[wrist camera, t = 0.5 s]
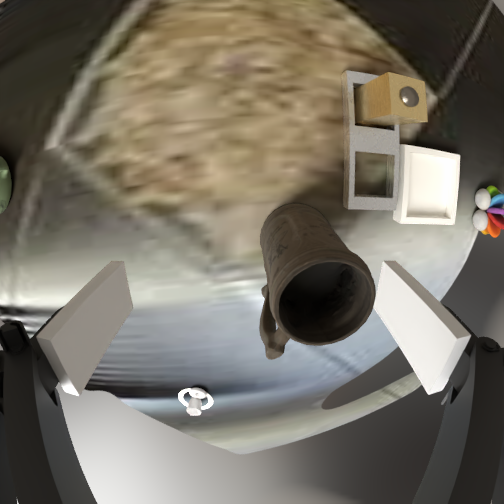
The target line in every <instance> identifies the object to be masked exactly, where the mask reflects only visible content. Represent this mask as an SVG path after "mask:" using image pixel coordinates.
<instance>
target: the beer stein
mask: <svg viewBox="0 0 504 504" xmlns="http://www.w3.org/2000/svg"><path fill="white" fill-rule="evenodd" d="M260 244H261V248H262V252H263V258H264V267H265V271H266V274H267V285H265V286H264V287H263V288H262V295H263V297H264V298H265V301H264V305H263V309H262V313H261V318H260V327H259V329H260V336H261V339H262V341H263V343H264V345H265V349H266V357H267V358H268V359H276V358H278V357H280V356H281V355H282V354H283V353H284V349H285V344H286V343H287V342H288V340H289V339H290V338H291V339H292V340H294V341H297V342H300V343H303V344H306V345H314V346H317V345H327V344H332V343H335V342H338V341H341V340H344V339H345V338H347V337H349V336H350V335H352V334H353V333H355V332H356V331H357V330H358V329H359V328H360V327H361V326H362V325H363V324H364V323H365V322H366V320H367V319H368V317H369V315H370V314H371V312H372V309H373V306H374V302H375V297H376V290H375V284H374V280H373V278H372V276H371V272H370V270H369V268H368V266H367V265H366V264H365V262H364V261H363V260H362V259H361V258H360V257H359V256H358V255H356V254H355V253H353V252H351V251H350V250H349V249H348V248H347V247H346V245H345V244H344V243H343V242H342V240H341V239H340V238H339V236H338V235H337V234H336V233H335V231H334V230H333V229H332V228H331V226H330V224H329V222H328V221H327V220H326V219H325V218H324V216H323V215H322V214H321V213H320V212H319V211H317V210H316V209H315V208H313V207H310V206H308V205H304V204H289V205H285V206H282V207H280V208H278V209H277V210H275V211H274V212H272V213H271V214H270V215H269V216H268V218H267V219H266V221H265V222H264V224H263V227H262V229H261V234H260ZM276 323H277V325H278V329H277V330H276Z"/></svg>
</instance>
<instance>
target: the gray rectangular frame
mask: <svg viewBox="0 0 504 504" xmlns="http://www.w3.org/2000/svg"><path fill="white" fill-rule="evenodd" d="M377 77H379V76H377V75H372V74H367V73H361V72H355V71H348V70H346V71H345V72H344V73H342V74H341V81H342V97H343V122H344V182H343V206H344V207H345V208H347V209H363V210H396V208H397V195H398V179H399V125H391V126H387V130H386V129H379V128H371V127H363V126H355V114H354V93H353V87H357V88H358V87H360V86H362V85H364V84H366V83H367V82H369V81H371V80H373V79H375V78H377ZM355 151H357V152H368V153H378V154H387V176H386V195H366V194H354V184H355Z"/></svg>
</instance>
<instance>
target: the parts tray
mask: <svg viewBox="0 0 504 504" xmlns="http://www.w3.org/2000/svg"><path fill="white" fill-rule="evenodd" d="M459 171H460V155H457V154H453V153H448V152H443V151H439V150H434V149H428V148H423V147H417V146H411V145H405V144H399V179H398V195H397V208H396V210H394V214H393V220H395V221H397V222H399V223H401V224H444V225H454V222H455V215H456V207H457V198H458V187H459Z"/></svg>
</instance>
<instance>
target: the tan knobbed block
mask: <svg viewBox="0 0 504 504" xmlns="http://www.w3.org/2000/svg"><path fill="white" fill-rule="evenodd" d="M353 93H354V114H355V123H359V124H368V125H375V126H382V127H383V126H391V125H400V124H410V123H420V122H428V121H427V103H426V91H425V82H424V81H421V80H418V79H414V78H411V77H407V76H403V75H399V74H395V73H391V72H387V73H385V74H383V75H381V76H379V77H377V78H375V79H373V80H371V81H369V82H367V83H366V84H364V85H362V86H360V87H358V88H356V89H354V90H353Z"/></svg>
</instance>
